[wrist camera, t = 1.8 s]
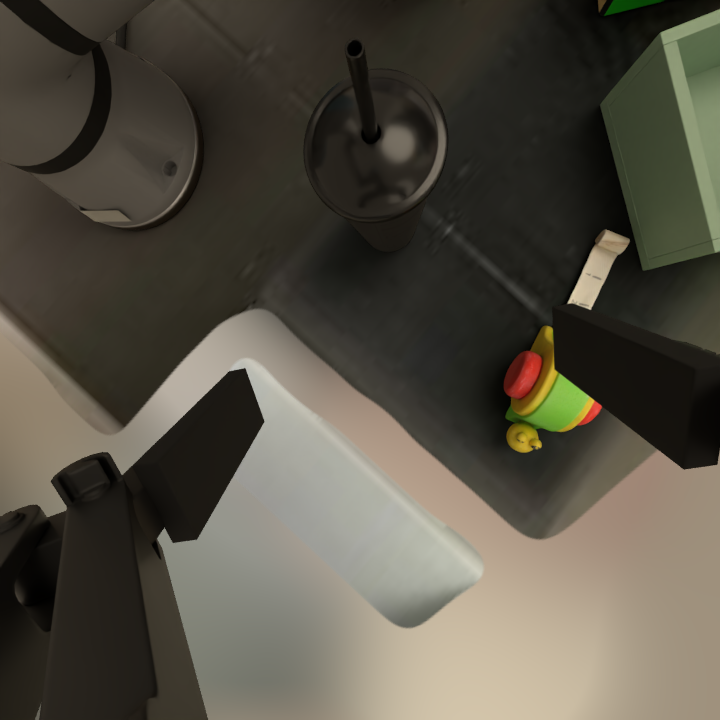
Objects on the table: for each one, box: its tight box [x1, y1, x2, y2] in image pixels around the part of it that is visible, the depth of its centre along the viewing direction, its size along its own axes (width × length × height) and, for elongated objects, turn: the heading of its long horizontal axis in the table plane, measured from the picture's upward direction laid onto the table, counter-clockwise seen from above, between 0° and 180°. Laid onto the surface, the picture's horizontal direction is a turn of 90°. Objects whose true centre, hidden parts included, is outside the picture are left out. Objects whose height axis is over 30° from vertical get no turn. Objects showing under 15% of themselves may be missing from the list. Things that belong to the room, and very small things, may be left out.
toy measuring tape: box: [504, 229, 630, 452], centre depth 27 cm, size 6×20×7 cm, turn 157°
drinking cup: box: [304, 38, 448, 252], centre depth 22 cm, size 8×8×20 cm
